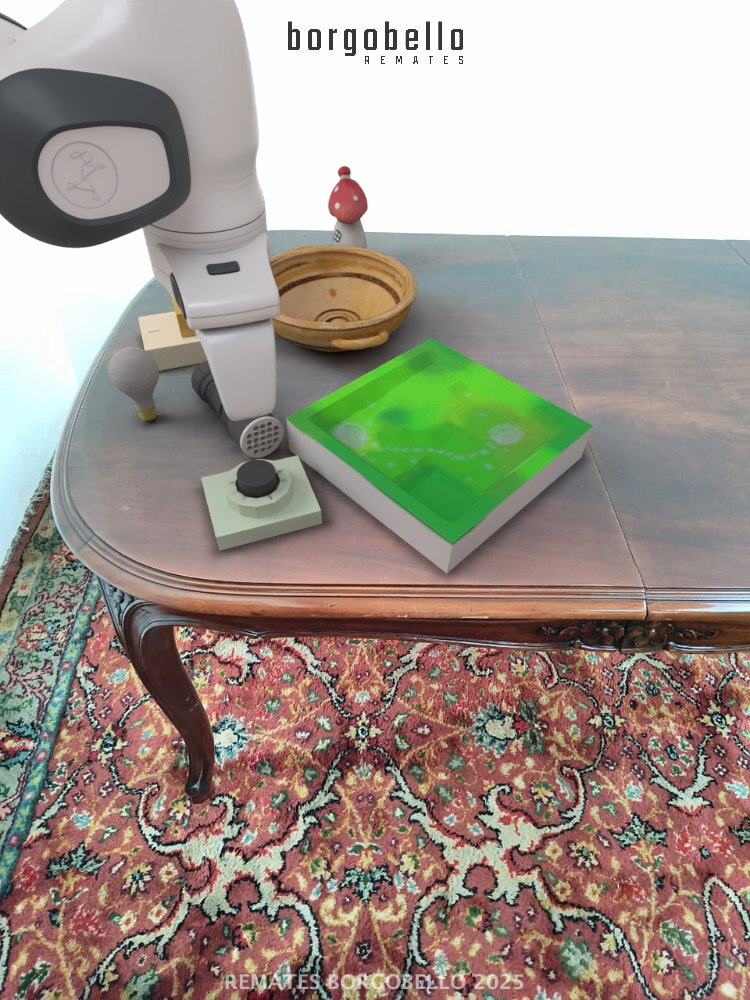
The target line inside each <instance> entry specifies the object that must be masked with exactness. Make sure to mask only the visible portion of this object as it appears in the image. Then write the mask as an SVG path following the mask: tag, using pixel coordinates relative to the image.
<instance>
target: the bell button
mask: <svg viewBox="0 0 750 1000" xmlns="http://www.w3.org/2000/svg"><path fill="white" fill-rule="evenodd" d="M265 460H266V459H265ZM265 460H256V459H252V460H248V462H247V461H245V462H246V463H244V464H243V465H241V466H240V467H239V469H238V471H237V480H238V485H239V489H240V491H241V492H242V493H243V494H244V495H245V496H248V497H251V498H260V497H265V496H267V495H269V494H271V493H272V492H273V491H274V490H275V489H276V487H277V477H276V470H275V467H274V466H273V465H272V464H271V463H270V462H268V461H265Z"/></svg>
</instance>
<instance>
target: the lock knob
mask: <svg viewBox="0 0 750 1000" xmlns="http://www.w3.org/2000/svg"><path fill="white" fill-rule="evenodd" d="M170 297H171V301H172V305H173V309H174V311H175V313H176V317H177V321H178V325H179V329H180V333H181V337H188V336H194V335H195V333H194V330H192V329H190V328H189V326H188V324H187V321H186V319H184V317H183V314H182V312H181V310H180V308H179V306H178V304H177V303H176V301H175V300H174V298H173V297H172V296H171V295H170Z"/></svg>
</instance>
